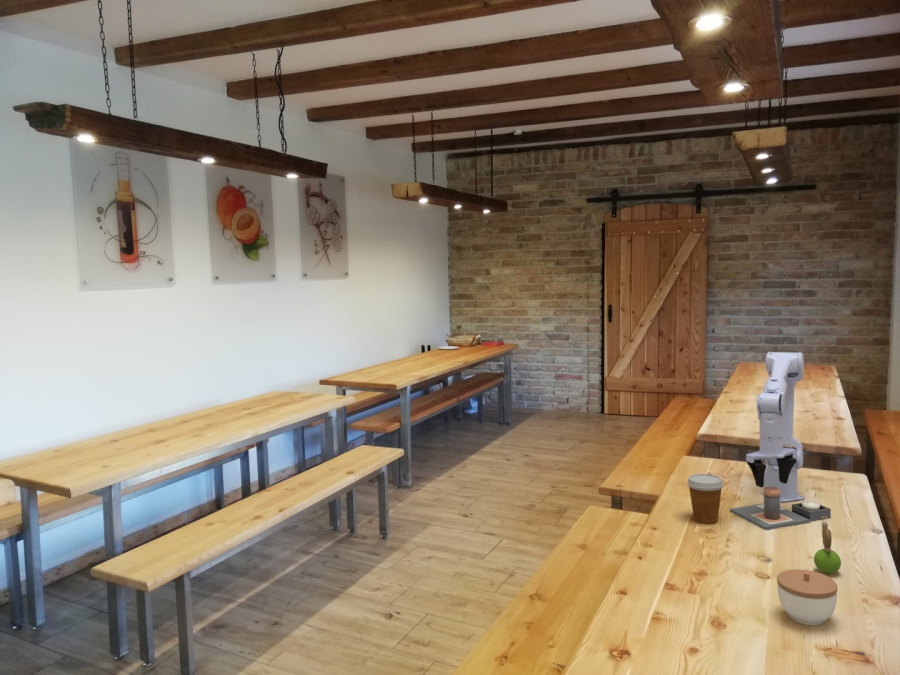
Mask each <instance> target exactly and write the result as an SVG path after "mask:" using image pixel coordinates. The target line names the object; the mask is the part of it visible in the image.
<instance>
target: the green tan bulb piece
mask: <svg viewBox="0 0 900 675" xmlns="http://www.w3.org/2000/svg"><path fill="white" fill-rule="evenodd" d="M822 520H827V517H825V519H824V517H823V516H822ZM828 526H829V524H828V522H827V521H822V523H821V537H822V545H823V548H821V549H819V550H817V551H816V552H815V554H814V556H813V562H814V564H815V567H816V568H817V569H818V570H819V571H821V572H822V573H825V574H835V573H836V572H838V571H839V570H840V569H841V565H842V560H841V557H840V556H839V554H838V553H837V552H836V551H834V550H833V549H832V548H831V547H832V533H831V532H832V531H831V530H830V529H829V528H828Z"/></svg>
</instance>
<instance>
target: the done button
mask: <svg viewBox="0 0 900 675" xmlns="http://www.w3.org/2000/svg"><path fill="white" fill-rule="evenodd" d="M801 503H802V508H805V509H807V510H809V511H813V510H819V509H820V505H821V504H820V502H819V501H815V500H803V501H801Z"/></svg>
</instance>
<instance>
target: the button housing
mask: <svg viewBox="0 0 900 675" xmlns="http://www.w3.org/2000/svg"><path fill="white" fill-rule="evenodd" d="M791 511H792V512H794V513H796V514H798V515H800V516H803V517H805V518H807V519H809V520H810V522H815V521H821V520H822V521H823V520H827V519H831V517H832V514H831V511H832V510H831V508H829V507H827V506H825V505H822V504H820V509H819V510H813V511H809V510H807V509H805V508H802V502H797V503H791ZM822 516H823V517H824V519H822ZM825 517H827V519H825Z"/></svg>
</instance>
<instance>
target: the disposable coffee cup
mask: <svg viewBox="0 0 900 675" xmlns="http://www.w3.org/2000/svg"><path fill="white" fill-rule="evenodd" d="M686 484H687V486H688V489H689V495H690V501H691V509H692V514H693V521H695V522H697V523H698V524H705V525H713V524H716V523H717V522H718V520H719V514H720V505H721V497H722V495H721V494H722V489H723V486H724V482H723V480H722V478H721V477H720V476H718V475H714V474H710V473H708V474H707V473H697V474H692V475H690V476H688V478H687V481H686Z"/></svg>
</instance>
